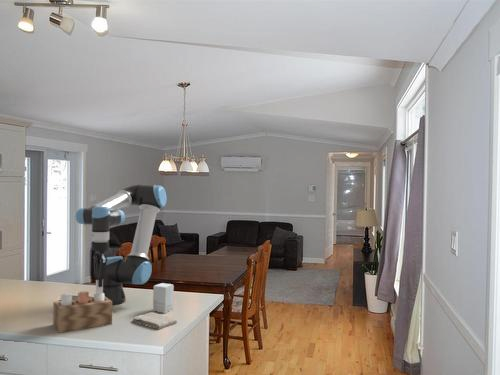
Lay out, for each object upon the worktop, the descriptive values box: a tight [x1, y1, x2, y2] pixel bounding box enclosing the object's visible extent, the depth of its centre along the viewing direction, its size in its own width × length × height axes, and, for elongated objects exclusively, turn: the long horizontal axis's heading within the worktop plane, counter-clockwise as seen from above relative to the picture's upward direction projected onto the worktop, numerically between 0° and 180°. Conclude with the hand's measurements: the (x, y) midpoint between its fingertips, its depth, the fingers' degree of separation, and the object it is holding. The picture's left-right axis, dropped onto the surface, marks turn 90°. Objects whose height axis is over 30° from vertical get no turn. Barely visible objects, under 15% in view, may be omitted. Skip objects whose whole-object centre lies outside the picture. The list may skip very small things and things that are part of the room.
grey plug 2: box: [93, 293, 104, 302], centre depth 204 cm, size 4×4×9 cm
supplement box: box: [152, 282, 175, 314], centre depth 224 cm, size 7×7×13 cm
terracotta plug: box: [77, 290, 90, 304], centre depth 200 cm, size 4×4×9 cm
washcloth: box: [132, 311, 178, 330], centre depth 205 cm, size 12×18×3 cm, turn 56°
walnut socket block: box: [52, 296, 113, 333], centre depth 200 cm, size 22×12×10 cm, turn 125°
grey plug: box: [60, 292, 73, 306], centre depth 196 cm, size 4×4×9 cm
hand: (99, 293), depth 204 cm, fingers closed
